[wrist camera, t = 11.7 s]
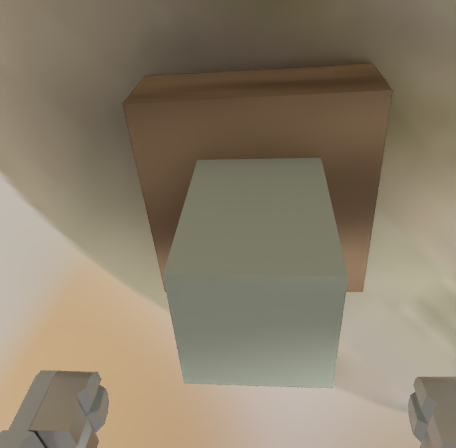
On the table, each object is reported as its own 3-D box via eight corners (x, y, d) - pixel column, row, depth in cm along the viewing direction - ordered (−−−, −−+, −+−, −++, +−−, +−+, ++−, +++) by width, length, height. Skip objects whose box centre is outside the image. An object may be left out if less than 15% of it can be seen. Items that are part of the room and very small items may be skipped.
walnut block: (146, 73, 19) (122, 103, 16) (370, 60, 18) (392, 90, 15) (178, 244, 25) (165, 292, 22) (350, 242, 24) (362, 291, 21)
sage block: (197, 159, 17) (163, 274, 12) (321, 157, 17) (348, 276, 11) (207, 254, 20) (184, 383, 15) (313, 254, 20) (332, 388, 14)
